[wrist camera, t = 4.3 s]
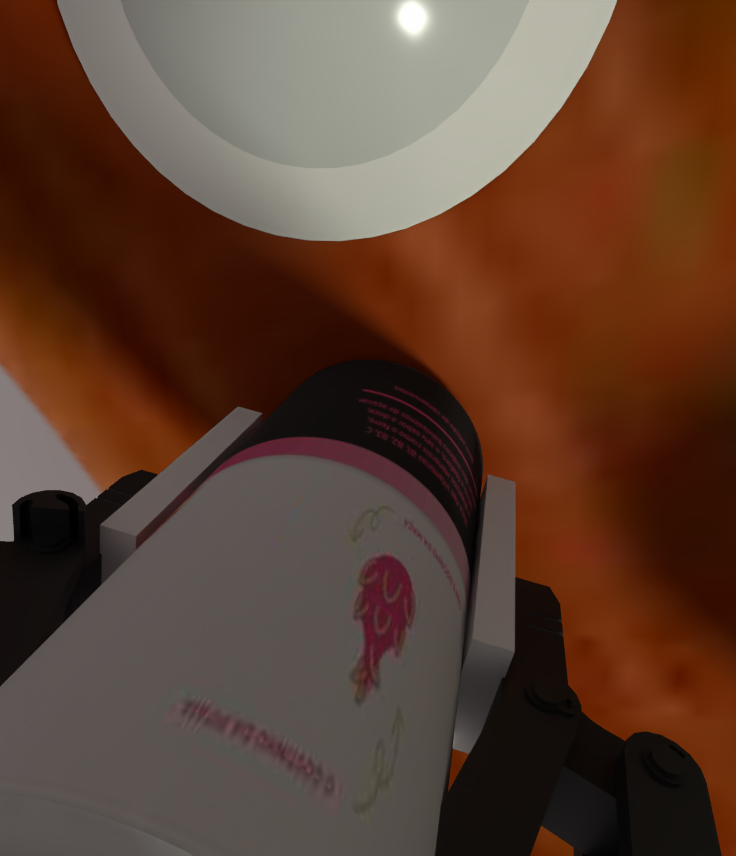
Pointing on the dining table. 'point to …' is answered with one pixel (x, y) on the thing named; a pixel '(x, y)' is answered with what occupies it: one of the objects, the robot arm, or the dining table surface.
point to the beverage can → (267, 647)
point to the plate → (333, 99)
